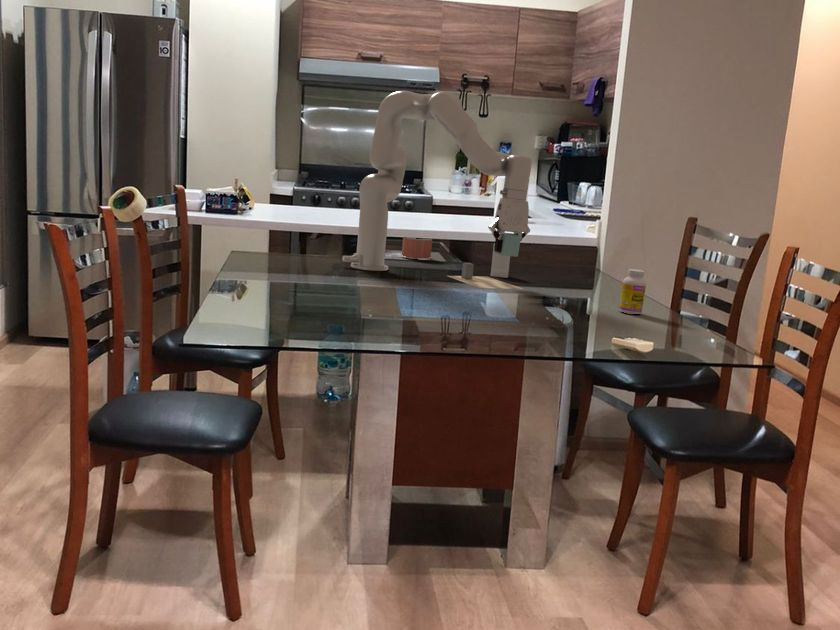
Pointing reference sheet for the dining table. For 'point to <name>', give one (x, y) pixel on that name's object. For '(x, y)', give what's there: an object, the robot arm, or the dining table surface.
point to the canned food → (416, 247)
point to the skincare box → (500, 265)
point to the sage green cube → (510, 245)
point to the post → (467, 271)
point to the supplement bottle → (633, 292)
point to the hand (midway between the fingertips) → (506, 251)
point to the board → (486, 282)
